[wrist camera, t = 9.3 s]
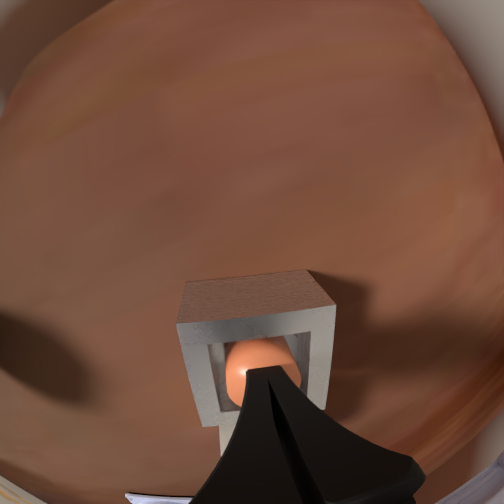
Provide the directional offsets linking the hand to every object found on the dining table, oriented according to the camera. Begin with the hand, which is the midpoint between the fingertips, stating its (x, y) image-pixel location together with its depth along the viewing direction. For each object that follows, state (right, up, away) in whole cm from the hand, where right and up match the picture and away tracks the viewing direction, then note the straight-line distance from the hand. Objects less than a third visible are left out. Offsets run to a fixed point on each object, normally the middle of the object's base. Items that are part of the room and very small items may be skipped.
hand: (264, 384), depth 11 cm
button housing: (-1, +1, +4) cm, 4 cm away
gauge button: (0, +1, +2) cm, 2 cm away
